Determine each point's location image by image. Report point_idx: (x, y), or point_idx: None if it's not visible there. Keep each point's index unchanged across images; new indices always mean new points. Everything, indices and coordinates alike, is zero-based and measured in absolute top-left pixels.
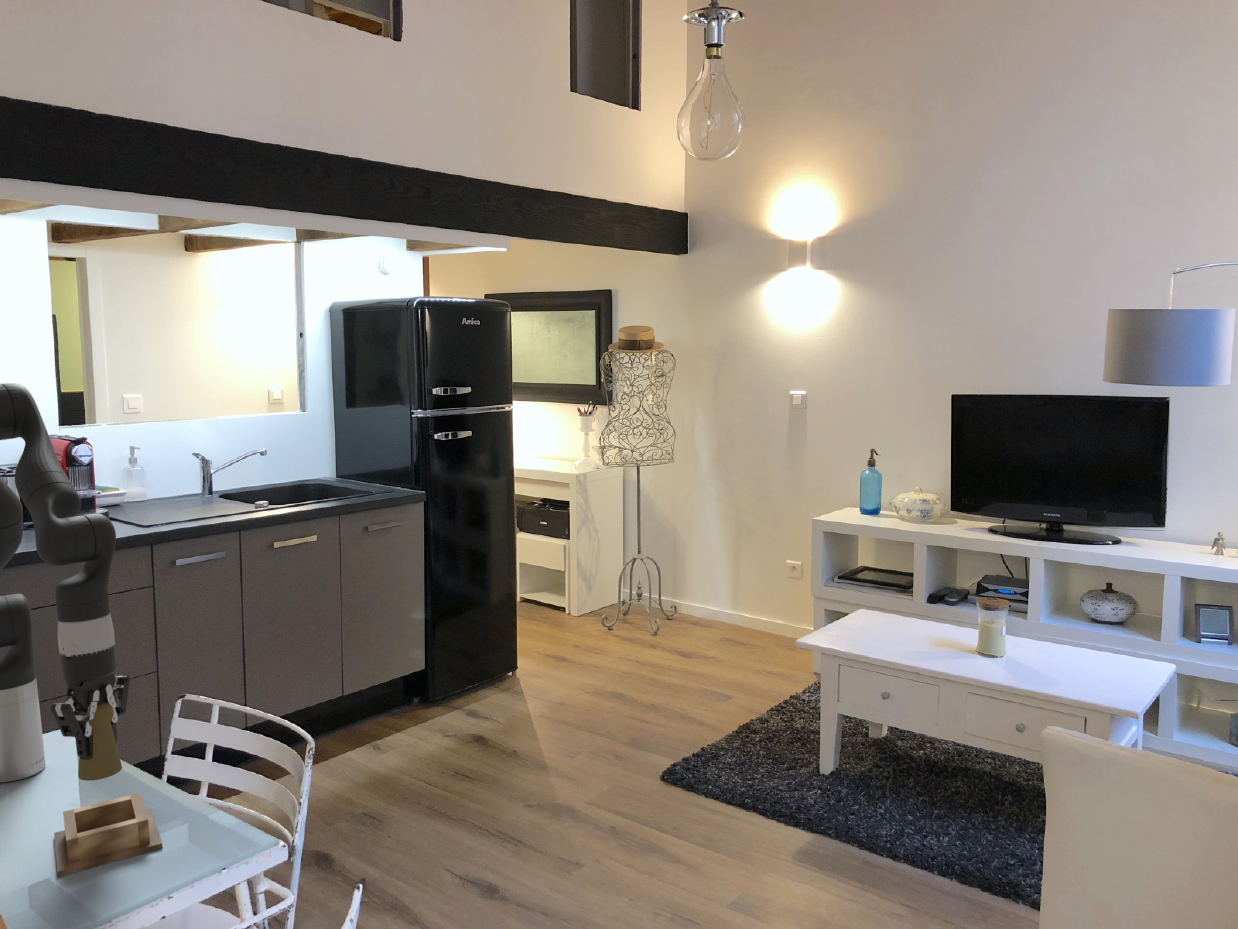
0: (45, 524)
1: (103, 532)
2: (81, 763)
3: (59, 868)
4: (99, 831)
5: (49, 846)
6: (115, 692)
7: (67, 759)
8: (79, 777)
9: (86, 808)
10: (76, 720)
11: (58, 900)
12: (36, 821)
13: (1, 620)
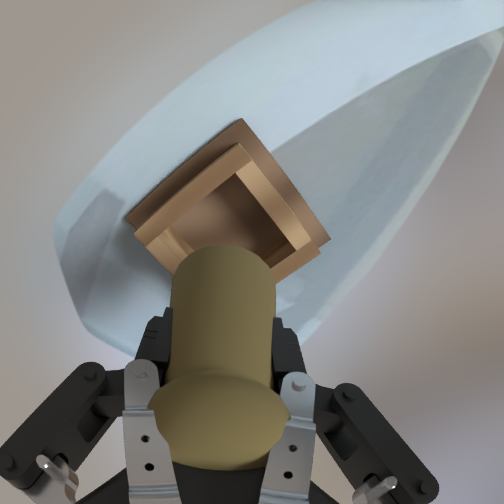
0: None
1: None
2: (171, 299)
3: (132, 214)
4: (169, 270)
5: (212, 129)
6: (365, 471)
7: (478, 22)
8: (179, 266)
9: (255, 186)
10: (86, 451)
11: (87, 255)
12: (301, 48)
13: None
